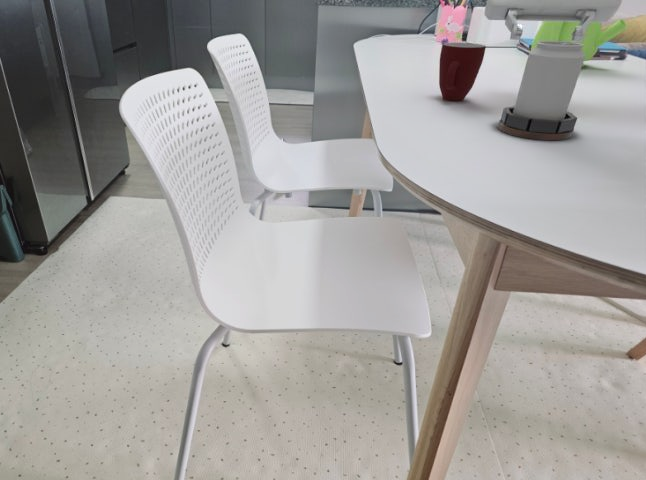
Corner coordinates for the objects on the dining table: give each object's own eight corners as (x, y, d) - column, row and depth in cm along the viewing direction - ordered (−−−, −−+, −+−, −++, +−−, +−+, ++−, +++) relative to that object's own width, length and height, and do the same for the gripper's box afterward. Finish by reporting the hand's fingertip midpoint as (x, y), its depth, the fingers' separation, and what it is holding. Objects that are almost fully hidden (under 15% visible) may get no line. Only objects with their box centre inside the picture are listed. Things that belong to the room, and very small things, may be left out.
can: (506, 117, 79) (527, 38, 72) (553, 120, 78) (579, 39, 71) (515, 129, 73) (540, 43, 66) (567, 132, 72) (597, 45, 65)
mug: (470, 107, 89) (483, 50, 84) (427, 103, 92) (437, 47, 87) (475, 97, 97) (487, 44, 92) (435, 93, 100) (445, 41, 95)
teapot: (597, 75, 121) (622, 5, 112) (515, 65, 134) (531, 1, 126) (626, 66, 135) (651, 3, 127) (549, 58, 148) (567, 0, 140)
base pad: (563, 124, 79) (568, 107, 78) (580, 143, 70) (586, 124, 69) (494, 119, 81) (498, 103, 80) (501, 137, 73) (506, 118, 71)
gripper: (493, -48, 79) (484, 22, 77) (629, -49, 75) (625, 25, 72) (484, -17, 85) (476, 49, 83) (610, -16, 81) (605, 53, 78)
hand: (546, 38), depth 77 cm, fingers open, 8 cm apart
